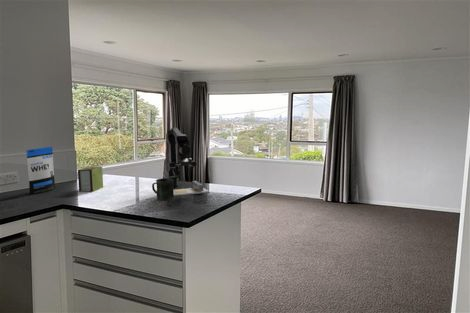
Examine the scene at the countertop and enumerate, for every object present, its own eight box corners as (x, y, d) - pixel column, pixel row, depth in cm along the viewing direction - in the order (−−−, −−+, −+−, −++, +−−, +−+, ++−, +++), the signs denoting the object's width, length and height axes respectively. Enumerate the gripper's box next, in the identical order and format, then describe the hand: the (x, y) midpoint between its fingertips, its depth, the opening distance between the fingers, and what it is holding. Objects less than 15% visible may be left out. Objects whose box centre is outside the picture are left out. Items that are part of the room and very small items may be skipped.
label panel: (169, 191, 241) (168, 189, 241) (202, 188, 251) (202, 186, 251) (174, 195, 228) (173, 193, 228) (209, 192, 237) (208, 190, 237)
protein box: (103, 187, 256) (102, 166, 254) (93, 192, 241) (91, 169, 239) (89, 187, 257) (88, 166, 255) (78, 191, 242) (77, 169, 240)
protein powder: (23, 194, 233) (20, 149, 230) (49, 187, 257) (46, 146, 253) (36, 195, 231) (32, 150, 228) (60, 187, 255) (58, 146, 252)
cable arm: (191, 186, 248) (191, 181, 248) (196, 186, 249) (196, 180, 249) (198, 191, 233) (198, 185, 232) (203, 190, 234) (203, 184, 234)
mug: (169, 201, 214) (168, 181, 212) (148, 199, 218) (147, 180, 217) (177, 197, 224) (176, 178, 223) (157, 195, 228) (156, 177, 227)
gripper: (171, 155, 222) (172, 179, 223) (199, 154, 230) (199, 177, 231) (166, 154, 232) (167, 177, 233) (193, 152, 240) (194, 175, 241)
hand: (182, 176), depth 235 cm, fingers open, 9 cm apart
